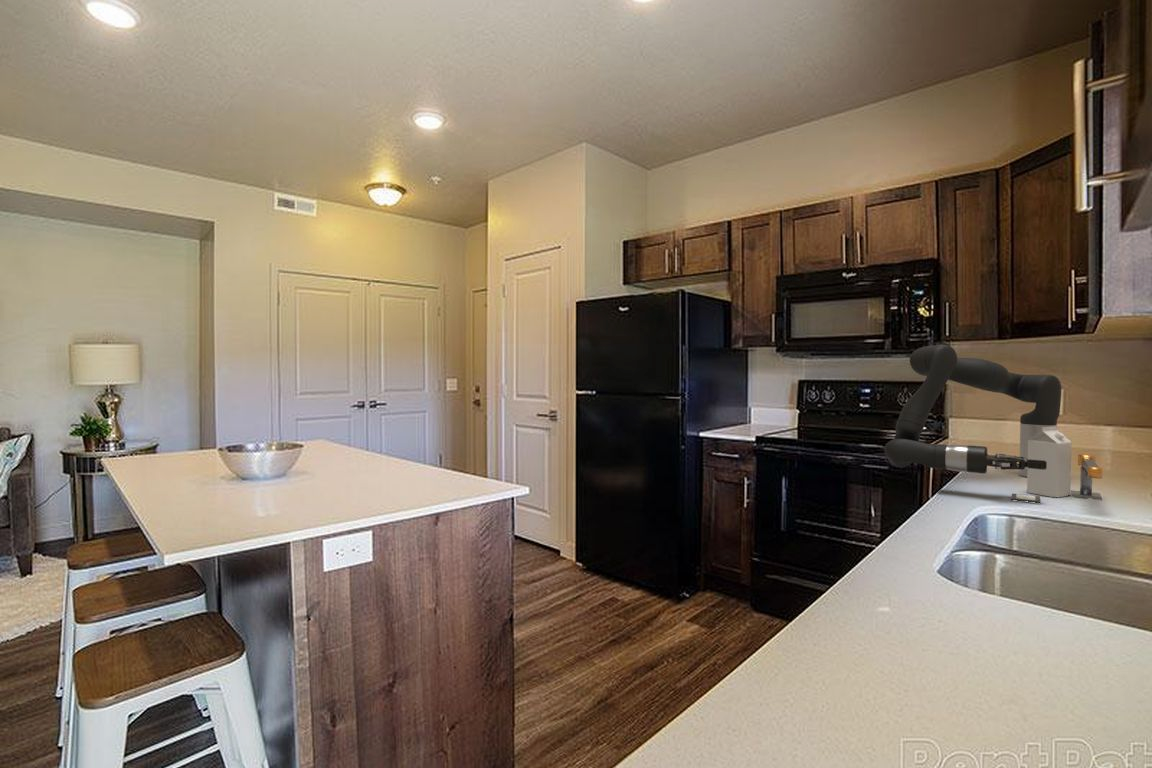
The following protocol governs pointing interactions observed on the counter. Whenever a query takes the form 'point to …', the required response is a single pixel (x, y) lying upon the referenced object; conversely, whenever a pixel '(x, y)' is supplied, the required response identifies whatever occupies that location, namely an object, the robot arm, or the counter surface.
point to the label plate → (1026, 498)
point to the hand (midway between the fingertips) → (1046, 465)
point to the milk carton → (1050, 463)
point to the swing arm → (1090, 465)
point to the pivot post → (1085, 487)
